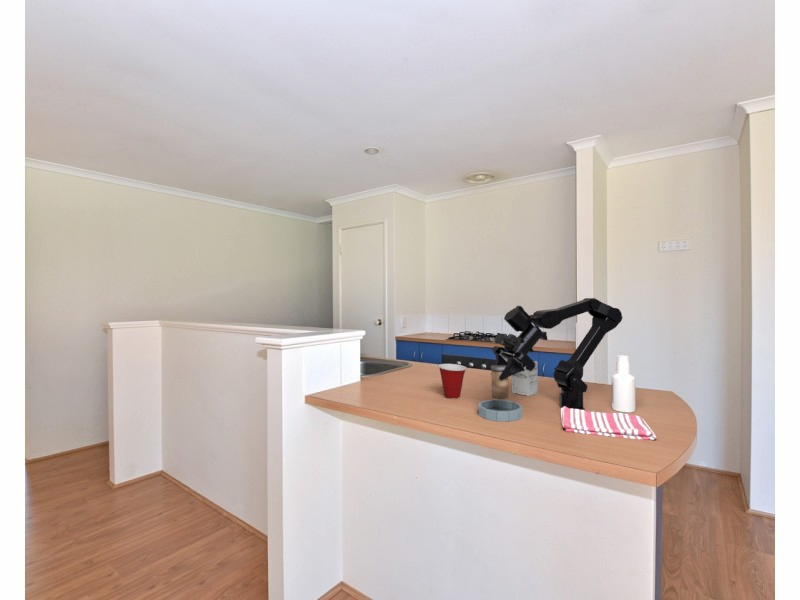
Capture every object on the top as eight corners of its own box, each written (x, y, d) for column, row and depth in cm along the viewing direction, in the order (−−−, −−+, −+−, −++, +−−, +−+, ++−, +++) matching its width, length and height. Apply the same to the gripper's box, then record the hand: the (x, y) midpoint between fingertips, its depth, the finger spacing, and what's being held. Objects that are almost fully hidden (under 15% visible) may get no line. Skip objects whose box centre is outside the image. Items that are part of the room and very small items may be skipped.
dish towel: (560, 415, 127) (560, 405, 127) (643, 422, 119) (643, 411, 119) (562, 433, 111) (562, 421, 111) (658, 443, 103) (658, 430, 103)
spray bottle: (631, 407, 132) (631, 354, 132) (638, 413, 126) (637, 357, 125) (609, 406, 134) (609, 353, 134) (614, 412, 128) (614, 357, 127)
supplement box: (511, 393, 154) (511, 361, 153) (521, 389, 159) (521, 358, 158) (528, 396, 148) (528, 363, 148) (538, 393, 153) (538, 360, 153)
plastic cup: (466, 401, 144) (466, 368, 143) (437, 400, 146) (436, 367, 146) (467, 393, 154) (467, 363, 154) (440, 392, 156) (439, 362, 156)
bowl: (517, 408, 133) (517, 400, 133) (525, 421, 120) (525, 412, 120) (477, 408, 135) (477, 399, 135) (480, 420, 121) (480, 411, 121)
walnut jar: (510, 396, 127) (510, 365, 127) (505, 400, 123) (505, 368, 123) (494, 394, 130) (494, 364, 130) (489, 398, 126) (488, 367, 126)
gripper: (496, 322, 136) (467, 356, 134) (525, 326, 118) (492, 365, 116) (517, 343, 138) (488, 377, 136) (549, 351, 120) (517, 390, 118)
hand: (495, 377), depth 126 cm, fingers closed on walnut jar, 5 cm apart
